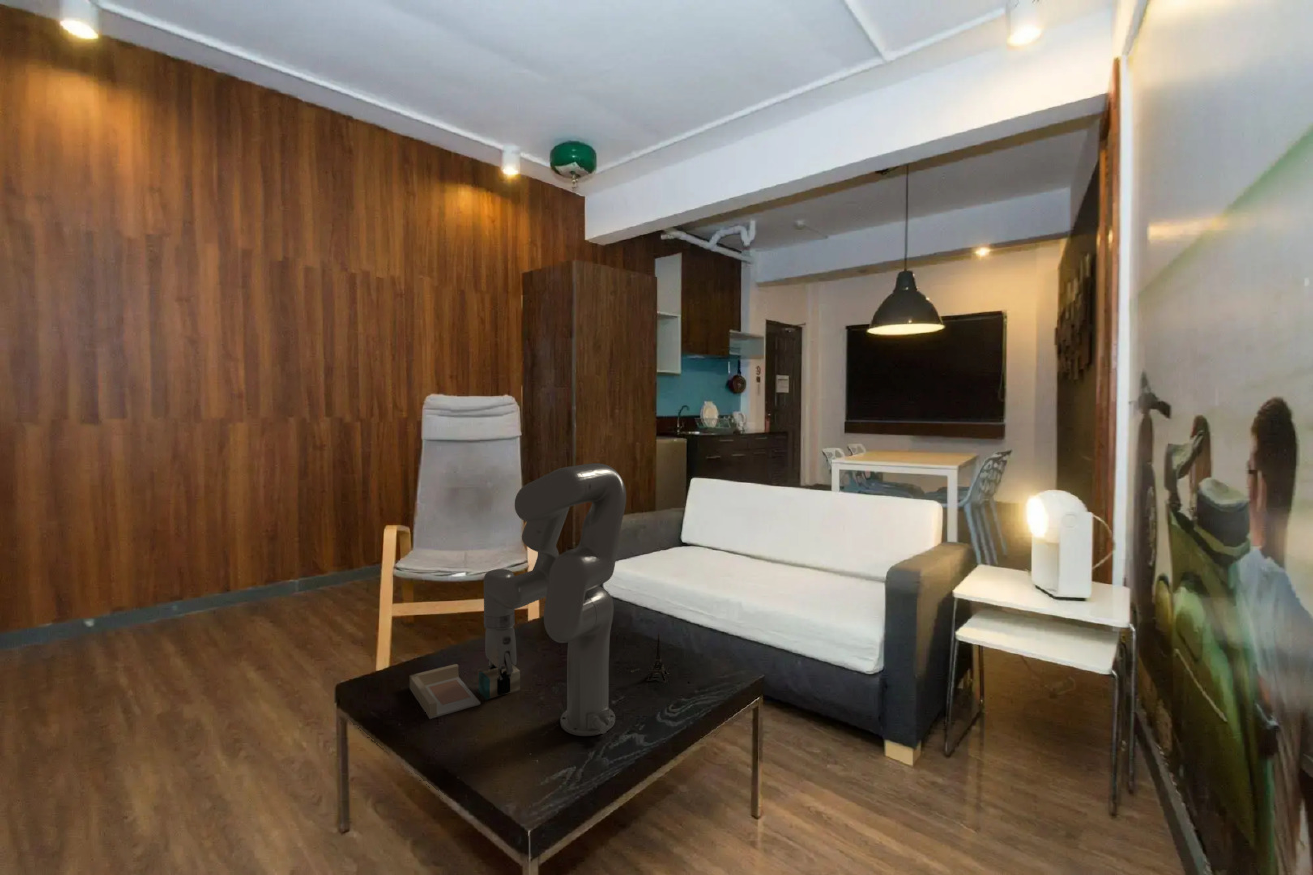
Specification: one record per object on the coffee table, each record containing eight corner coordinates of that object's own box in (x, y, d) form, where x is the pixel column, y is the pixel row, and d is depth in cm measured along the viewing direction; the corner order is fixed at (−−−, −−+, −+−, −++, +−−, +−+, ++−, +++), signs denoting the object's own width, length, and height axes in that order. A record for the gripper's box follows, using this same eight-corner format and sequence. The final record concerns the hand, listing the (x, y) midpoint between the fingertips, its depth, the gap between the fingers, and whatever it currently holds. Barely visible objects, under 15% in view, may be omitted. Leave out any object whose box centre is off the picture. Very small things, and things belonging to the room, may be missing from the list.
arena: (480, 704, 149) (480, 690, 148) (429, 719, 142) (429, 704, 141) (456, 676, 163) (456, 663, 163) (409, 688, 156) (409, 675, 156)
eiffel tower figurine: (691, 684, 162) (692, 635, 161) (661, 695, 156) (661, 644, 155) (658, 664, 174) (659, 618, 173) (628, 673, 168) (629, 625, 167)
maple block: (520, 689, 156) (520, 671, 156) (485, 699, 151) (485, 680, 151) (512, 682, 160) (512, 663, 160) (478, 691, 155) (478, 672, 155)
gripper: (527, 626, 150) (527, 698, 151) (500, 606, 164) (500, 672, 165) (497, 633, 145) (497, 707, 147) (473, 612, 159) (473, 680, 160)
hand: (499, 688), depth 156 cm, fingers closed on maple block, 5 cm apart
